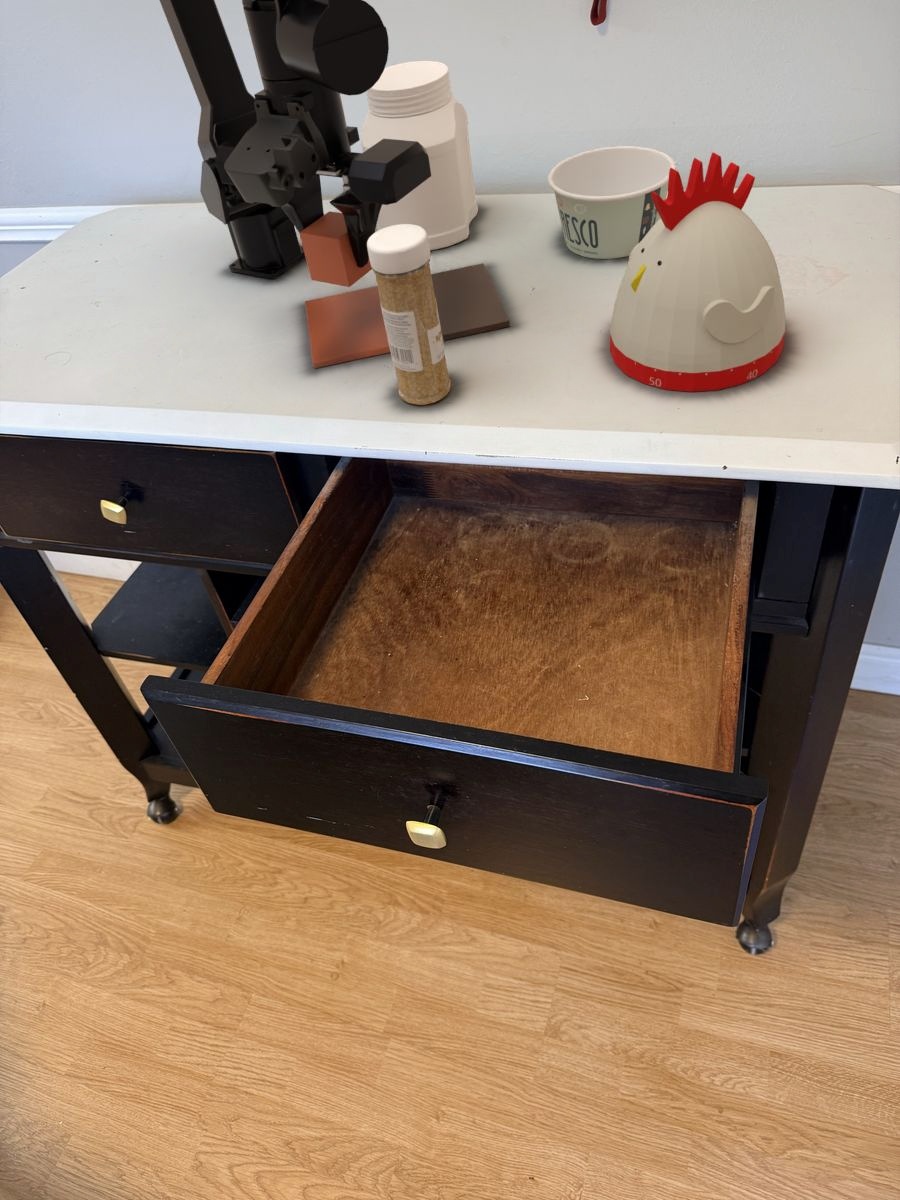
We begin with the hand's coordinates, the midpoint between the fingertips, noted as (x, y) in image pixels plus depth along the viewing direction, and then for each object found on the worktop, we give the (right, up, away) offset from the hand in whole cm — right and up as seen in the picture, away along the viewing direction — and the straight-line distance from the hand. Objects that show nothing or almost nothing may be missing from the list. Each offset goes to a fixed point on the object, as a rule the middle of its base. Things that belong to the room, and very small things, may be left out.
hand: (341, 262), depth 81 cm
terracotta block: (0, -1, +1) cm, 1 cm away
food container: (+26, +6, +10) cm, 28 cm away
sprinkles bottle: (+8, -13, -5) cm, 16 cm away
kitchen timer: (+30, -9, -5) cm, 32 cm away
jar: (+8, +10, +17) cm, 22 cm away
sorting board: (+5, -3, +5) cm, 8 cm away
